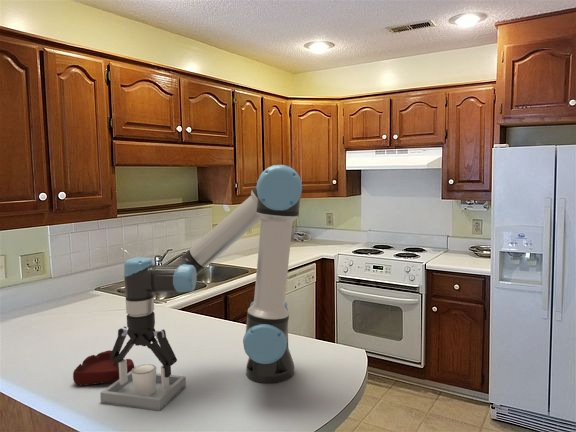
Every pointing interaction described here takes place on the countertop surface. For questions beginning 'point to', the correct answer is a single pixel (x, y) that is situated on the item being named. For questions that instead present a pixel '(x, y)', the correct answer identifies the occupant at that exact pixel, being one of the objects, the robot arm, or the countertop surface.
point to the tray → (127, 396)
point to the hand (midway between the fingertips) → (144, 385)
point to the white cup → (144, 379)
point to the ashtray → (98, 369)
